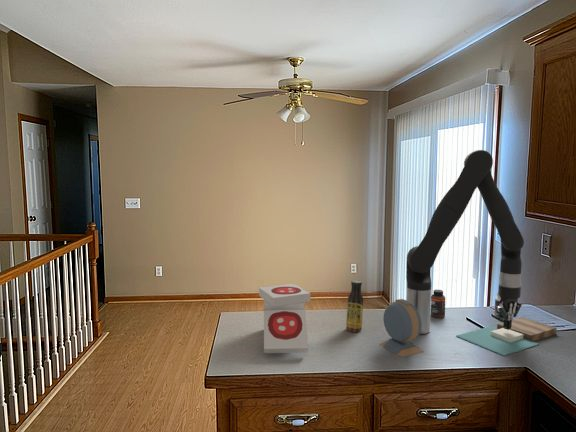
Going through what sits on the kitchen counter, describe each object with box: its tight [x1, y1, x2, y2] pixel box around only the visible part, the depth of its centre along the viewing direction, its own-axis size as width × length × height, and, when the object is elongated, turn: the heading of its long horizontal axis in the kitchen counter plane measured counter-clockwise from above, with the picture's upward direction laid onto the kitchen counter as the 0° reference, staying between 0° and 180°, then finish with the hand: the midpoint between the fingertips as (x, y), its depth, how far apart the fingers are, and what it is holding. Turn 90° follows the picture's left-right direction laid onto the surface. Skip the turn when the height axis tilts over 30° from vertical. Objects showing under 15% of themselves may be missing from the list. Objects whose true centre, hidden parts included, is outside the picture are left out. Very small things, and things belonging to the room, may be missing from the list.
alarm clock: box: [379, 298, 425, 358], centre depth 155 cm, size 14×10×18 cm
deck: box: [496, 316, 557, 342], centre depth 171 cm, size 16×14×2 cm
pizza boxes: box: [258, 283, 311, 354], centre depth 160 cm, size 19×30×18 cm, turn 3°
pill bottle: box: [493, 291, 501, 317], centre depth 191 cm, size 5×5×10 cm
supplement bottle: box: [430, 289, 446, 319], centre depth 189 cm, size 6×6×11 cm
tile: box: [491, 328, 524, 342], centre depth 165 cm, size 8×8×2 cm
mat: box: [455, 325, 540, 357], centre depth 162 cm, size 20×20×1 cm
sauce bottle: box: [345, 279, 364, 333], centre depth 172 cm, size 7×6×20 cm
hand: (507, 328), depth 165 cm, fingers closed
